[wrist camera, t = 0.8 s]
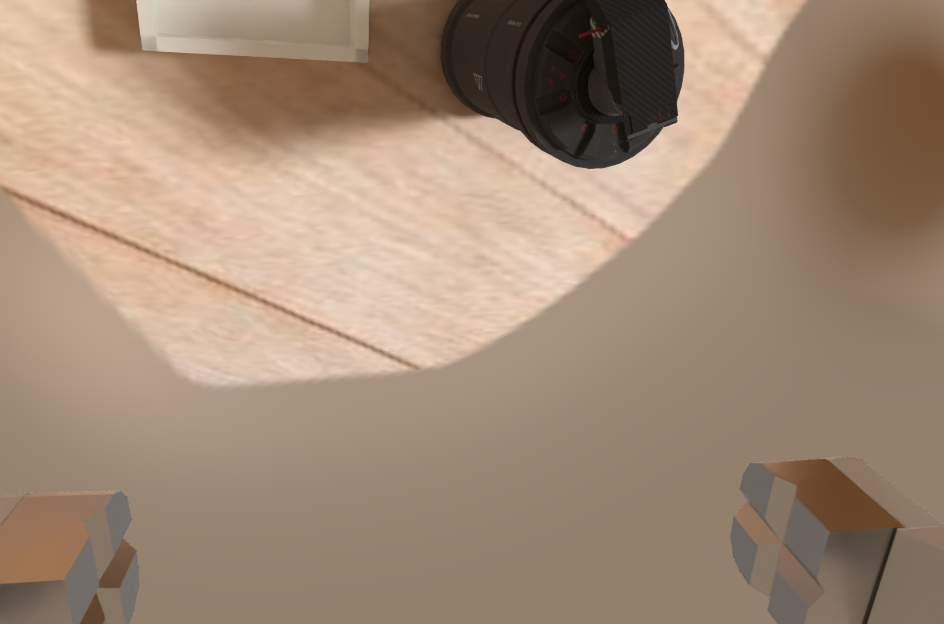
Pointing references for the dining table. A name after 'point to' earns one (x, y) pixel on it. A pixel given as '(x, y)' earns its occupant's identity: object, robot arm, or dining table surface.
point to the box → (258, 28)
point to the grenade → (569, 72)
